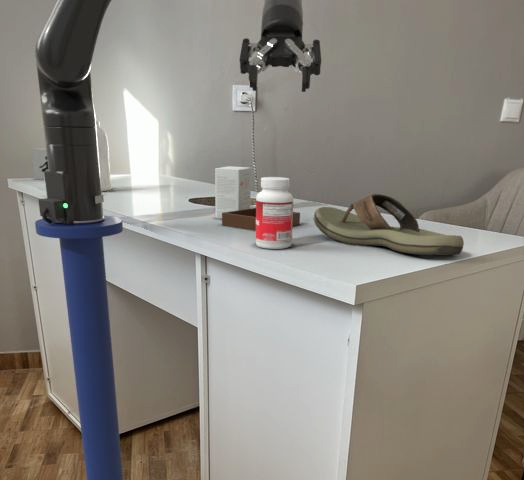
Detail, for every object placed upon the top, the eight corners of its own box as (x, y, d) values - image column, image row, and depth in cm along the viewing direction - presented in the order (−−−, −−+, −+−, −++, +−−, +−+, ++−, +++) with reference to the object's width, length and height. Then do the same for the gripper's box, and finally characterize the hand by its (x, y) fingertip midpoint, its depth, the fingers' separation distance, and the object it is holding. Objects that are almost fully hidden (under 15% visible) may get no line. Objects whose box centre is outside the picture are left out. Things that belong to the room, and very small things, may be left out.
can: (97, 193, 160) (90, 118, 153) (59, 191, 163) (51, 117, 156) (119, 189, 171) (114, 119, 164) (83, 187, 174) (77, 118, 167)
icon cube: (42, 176, 205) (38, 148, 201) (70, 177, 206) (67, 148, 202) (34, 179, 195) (30, 149, 192) (63, 179, 196) (60, 149, 193)
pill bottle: (261, 241, 98) (262, 176, 94) (295, 244, 96) (298, 177, 92) (250, 248, 92) (251, 178, 88) (286, 251, 91) (289, 180, 86)
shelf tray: (264, 231, 107) (265, 218, 106) (221, 225, 113) (221, 212, 112) (299, 224, 116) (300, 212, 115) (258, 218, 122) (258, 207, 121)
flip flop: (303, 235, 105) (305, 188, 101) (348, 229, 111) (351, 186, 108) (430, 265, 83) (438, 208, 80) (476, 257, 90) (485, 203, 86)
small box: (227, 213, 128) (227, 165, 124) (250, 215, 126) (251, 166, 122) (214, 218, 121) (214, 167, 117) (238, 220, 119) (239, 169, 115)
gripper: (242, 2, 99) (236, 68, 92) (322, 3, 98) (322, 69, 92) (244, 40, 106) (239, 104, 99) (319, 41, 105) (319, 105, 99)
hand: (279, 87), depth 96 cm, fingers open, 8 cm apart
